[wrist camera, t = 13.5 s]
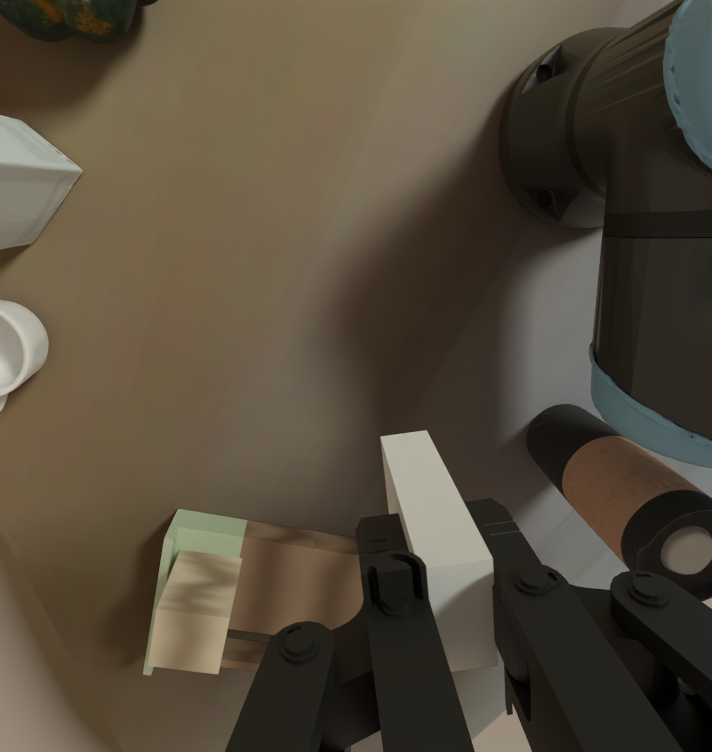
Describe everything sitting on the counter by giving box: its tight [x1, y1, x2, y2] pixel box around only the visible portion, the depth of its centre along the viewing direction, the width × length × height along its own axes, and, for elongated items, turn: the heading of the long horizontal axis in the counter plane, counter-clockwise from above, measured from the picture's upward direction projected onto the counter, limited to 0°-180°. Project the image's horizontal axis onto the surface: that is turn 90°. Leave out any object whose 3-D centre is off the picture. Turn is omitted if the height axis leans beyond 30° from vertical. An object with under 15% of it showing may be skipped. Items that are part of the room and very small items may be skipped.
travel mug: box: [527, 404, 712, 602], centre depth 44 cm, size 8×8×20 cm
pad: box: [143, 509, 247, 675], centre depth 53 cm, size 7×16×5 cm, turn 167°
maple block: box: [148, 549, 242, 674], centre depth 48 cm, size 6×6×8 cm
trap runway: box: [220, 520, 363, 672], centre depth 56 cm, size 21×16×3 cm
